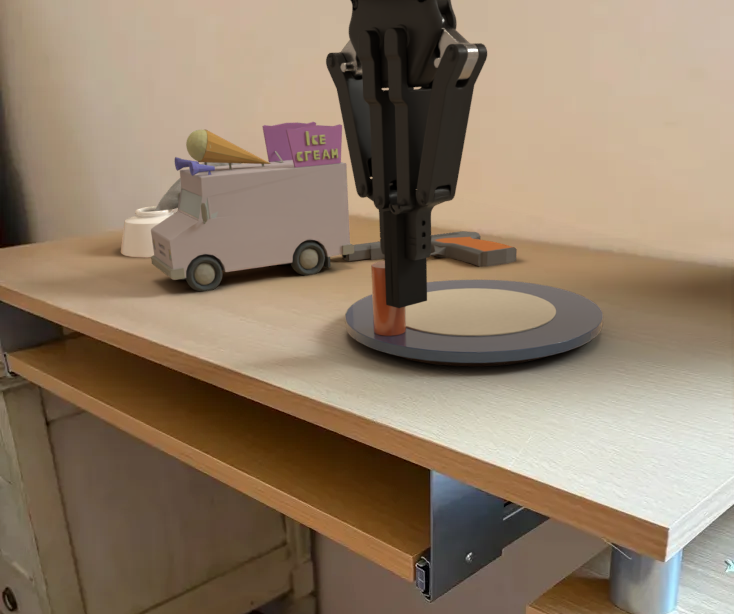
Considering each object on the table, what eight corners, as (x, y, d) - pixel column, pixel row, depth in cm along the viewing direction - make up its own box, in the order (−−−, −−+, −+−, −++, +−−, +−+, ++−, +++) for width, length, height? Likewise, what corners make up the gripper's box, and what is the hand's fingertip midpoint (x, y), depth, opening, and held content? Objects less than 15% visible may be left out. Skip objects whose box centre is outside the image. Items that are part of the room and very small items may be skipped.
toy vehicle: (152, 281, 87) (131, 131, 81) (322, 256, 95) (314, 118, 89) (176, 300, 79) (155, 136, 73) (358, 272, 87) (352, 122, 81)
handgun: (384, 283, 82) (341, 260, 93) (521, 263, 88) (466, 244, 98) (384, 265, 82) (340, 244, 92) (521, 246, 87) (466, 229, 97)
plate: (658, 323, 63) (665, 247, 61) (457, 385, 53) (458, 296, 51) (480, 277, 78) (481, 215, 76) (298, 317, 68) (293, 247, 66)
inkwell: (108, 251, 102) (95, 168, 98) (235, 230, 112) (228, 153, 108) (140, 263, 95) (128, 173, 91) (272, 239, 105) (266, 157, 102)
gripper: (285, -65, 53) (310, 297, 61) (426, -101, 43) (432, 332, 52) (375, -59, 57) (386, 279, 66) (521, -90, 48) (511, 308, 56)
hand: (406, 302), depth 59 cm, fingers closed
